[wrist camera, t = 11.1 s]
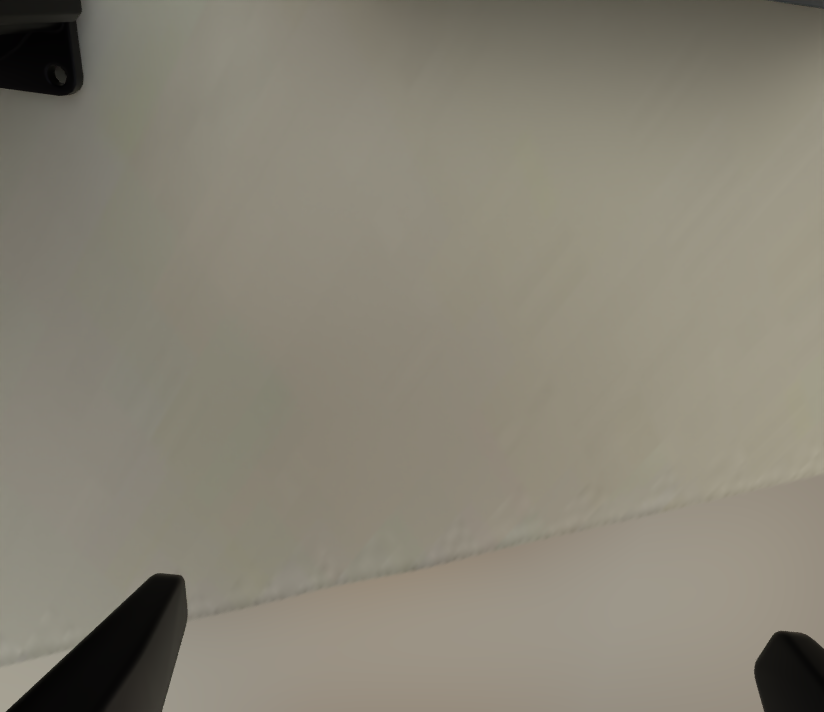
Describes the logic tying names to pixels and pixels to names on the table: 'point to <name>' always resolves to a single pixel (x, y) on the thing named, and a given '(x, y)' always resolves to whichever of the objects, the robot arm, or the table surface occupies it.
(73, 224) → the table surface
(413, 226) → the table surface
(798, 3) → the bin
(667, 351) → the table surface
